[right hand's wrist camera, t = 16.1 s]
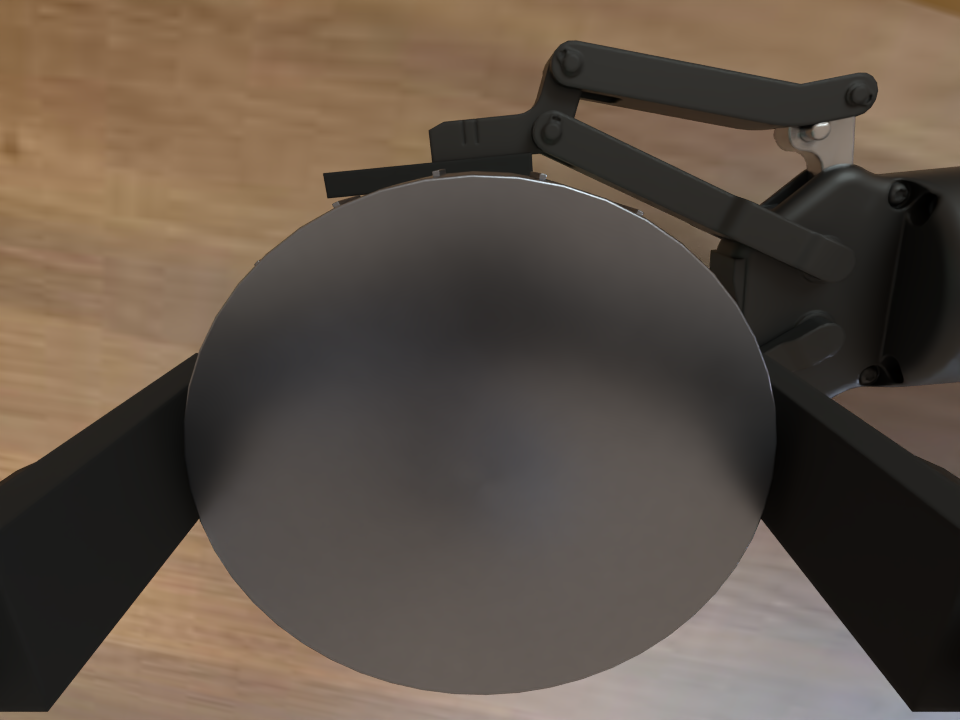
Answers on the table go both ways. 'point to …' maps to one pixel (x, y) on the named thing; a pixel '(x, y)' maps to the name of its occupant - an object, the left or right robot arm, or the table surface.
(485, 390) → the lid
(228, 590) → the table surface
